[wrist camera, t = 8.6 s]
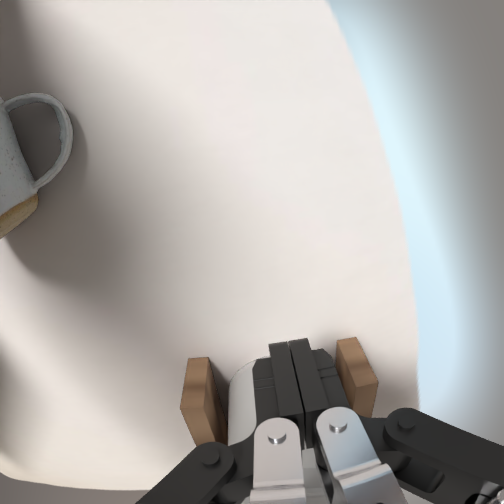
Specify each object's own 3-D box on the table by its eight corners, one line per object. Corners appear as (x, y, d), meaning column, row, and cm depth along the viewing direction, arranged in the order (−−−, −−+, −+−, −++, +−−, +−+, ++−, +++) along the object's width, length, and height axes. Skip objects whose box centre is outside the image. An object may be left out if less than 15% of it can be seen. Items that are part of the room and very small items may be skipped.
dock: (188, 358, 23) (180, 408, 18) (355, 336, 23) (378, 382, 18) (213, 435, 26) (212, 478, 22) (346, 418, 26) (360, 459, 22)
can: (244, 419, 26) (250, 541, 14) (215, 360, 23) (206, 508, 12) (328, 398, 25) (363, 519, 14) (315, 334, 22) (362, 479, 11)
